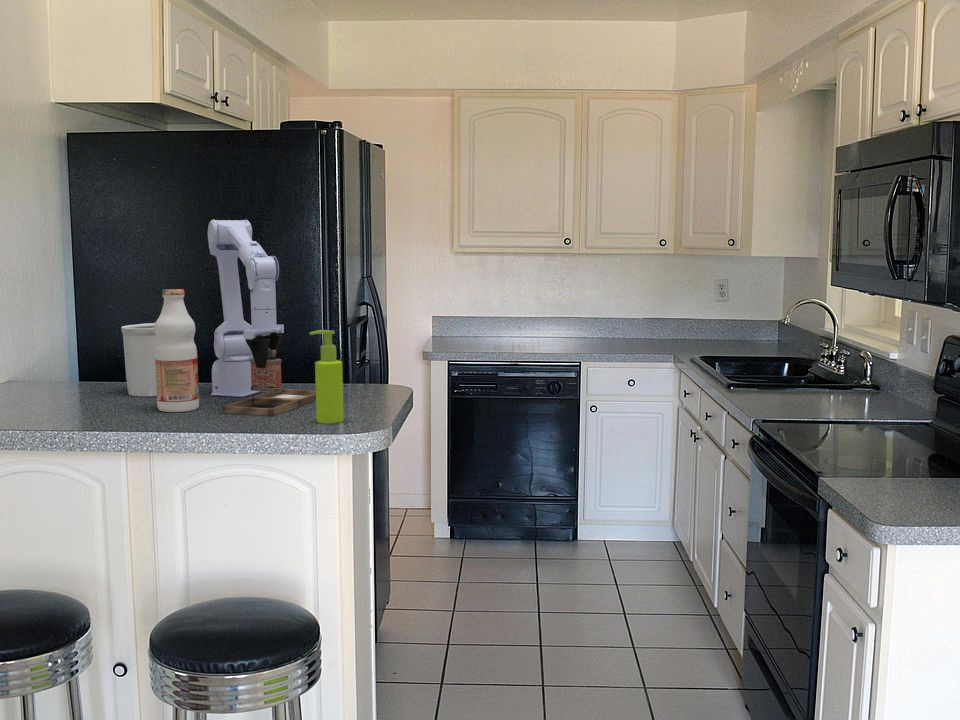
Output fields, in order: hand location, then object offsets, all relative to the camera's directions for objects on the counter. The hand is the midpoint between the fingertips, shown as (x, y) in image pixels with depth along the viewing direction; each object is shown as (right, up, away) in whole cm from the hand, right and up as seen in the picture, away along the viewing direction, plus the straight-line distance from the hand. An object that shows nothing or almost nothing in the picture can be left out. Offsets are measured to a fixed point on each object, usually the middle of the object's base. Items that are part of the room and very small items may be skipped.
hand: (265, 366), depth 231 cm
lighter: (0, -6, +1) cm, 6 cm away
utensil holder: (-34, -7, +23) cm, 42 cm away
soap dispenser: (+17, -12, -15) cm, 25 cm away
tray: (+1, -9, +5) cm, 11 cm away
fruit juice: (-20, -10, 0) cm, 23 cm away
